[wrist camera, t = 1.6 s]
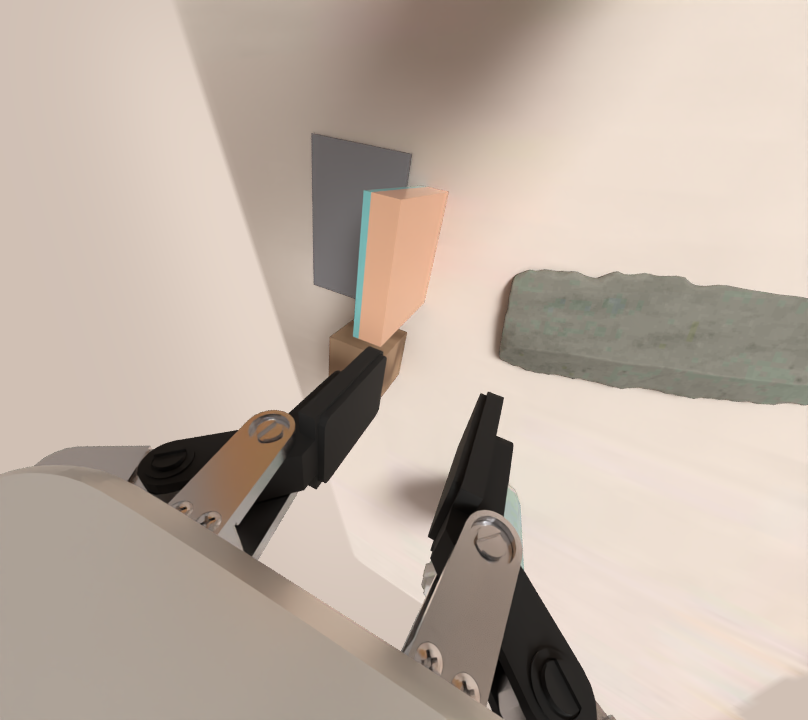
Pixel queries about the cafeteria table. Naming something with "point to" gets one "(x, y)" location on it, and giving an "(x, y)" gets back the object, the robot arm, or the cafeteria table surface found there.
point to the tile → (395, 257)
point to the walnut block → (350, 347)
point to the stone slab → (660, 335)
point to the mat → (346, 203)
